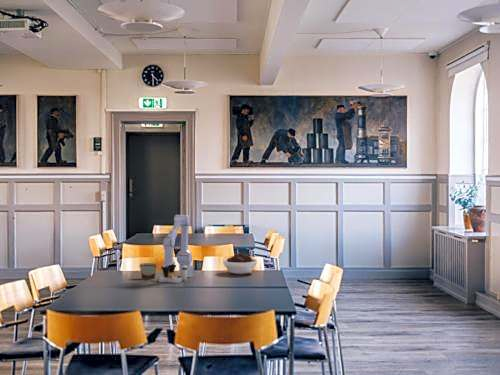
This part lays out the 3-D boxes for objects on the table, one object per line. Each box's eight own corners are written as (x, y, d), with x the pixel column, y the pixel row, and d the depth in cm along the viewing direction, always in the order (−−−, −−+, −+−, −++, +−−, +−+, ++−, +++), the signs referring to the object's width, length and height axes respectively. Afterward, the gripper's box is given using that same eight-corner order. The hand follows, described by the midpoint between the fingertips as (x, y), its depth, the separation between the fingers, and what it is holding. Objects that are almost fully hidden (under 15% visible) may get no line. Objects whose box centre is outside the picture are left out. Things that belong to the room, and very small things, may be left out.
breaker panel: (163, 280, 401) (163, 274, 401) (182, 281, 396) (182, 275, 396) (159, 281, 394) (159, 276, 394) (178, 282, 390) (178, 277, 390)
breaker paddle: (169, 276, 396) (169, 272, 396) (173, 276, 395) (173, 272, 395) (168, 276, 394) (168, 272, 394) (172, 277, 393) (172, 272, 393)
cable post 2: (185, 280, 400) (185, 265, 400) (188, 280, 398) (188, 266, 398) (181, 280, 398) (181, 266, 398) (184, 281, 396) (184, 266, 396)
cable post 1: (165, 279, 405) (165, 264, 405) (167, 279, 403) (167, 265, 403) (161, 279, 403) (161, 264, 403) (163, 280, 401) (163, 265, 400)
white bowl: (216, 274, 427) (216, 253, 427) (235, 269, 448) (235, 250, 448) (245, 277, 414) (245, 255, 414) (263, 272, 435) (263, 252, 435)
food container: (159, 277, 412) (159, 263, 412) (156, 278, 406) (156, 264, 406) (141, 277, 413) (141, 262, 413) (139, 278, 407) (139, 264, 407)
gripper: (168, 254, 400) (168, 274, 400) (158, 257, 386) (158, 277, 386) (177, 255, 398) (177, 275, 398) (168, 257, 384) (168, 278, 384)
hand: (168, 276), depth 392 cm, fingers open, 7 cm apart
